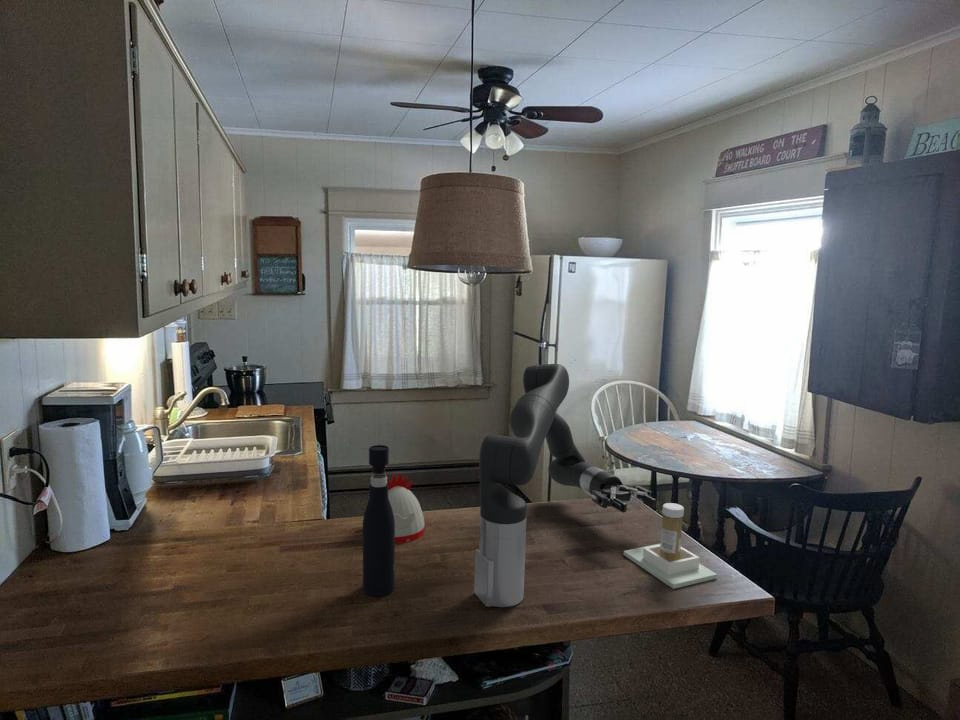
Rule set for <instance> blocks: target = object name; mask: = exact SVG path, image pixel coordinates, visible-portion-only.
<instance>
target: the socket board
mask: <svg viewBox="0 0 960 720" xmlns="http://www.w3.org/2000/svg"><path fill="white" fill-rule="evenodd" d="M660 544H661V543H656V544H651V545H646V546H641V547H637V548H632V549H628V550H623V556H625V557H626V558H627V559H629V560H630V561H632V562H633V563H635V564H636V565H638V566H639V567H641V568H642V569H643V570H645V571H646V572H647V573H650V574H651V576H654V578H655V577H656V578H657V579H658V580H659V581H662V583H664V584H665V585H667V586H668V587H670V588H671V589H672V590H674V589H679V588H684V587H687V586H690V585H691V586H692V585H696V584H699V583H704V582H709V581H712V580H716V579H718V573H716V572H714V571H712V570H711V569H709V568H707V567H706V566H704V565H703V564H701V563H700V559H701V558H700V556H698V555H696V554H695V553H692V552H691V551H690V550H687V549H686V548H684V547H682V546H681V550H680V560H676V561H672V562H669V561H667V560H665V559H664V558H662V557H661V556H660Z"/></svg>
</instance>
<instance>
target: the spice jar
mask: <svg viewBox="0 0 960 720" xmlns="http://www.w3.org/2000/svg"><path fill="white" fill-rule="evenodd" d="M661 510H662V512H661V513H662V518H661V519H662V522H661V531H660V533H661V534H660V543H659V544H660V556H661V557H662V558H664V559H665V560H667V561H669V562H672V561H676V560H680V550H681V547H682V530H683V517H684V513H685V507H684V506H683V505H681V504H679V503H673V502H666V503H664V504H663V505H662V509H661Z"/></svg>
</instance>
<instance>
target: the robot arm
mask: <svg viewBox="0 0 960 720" xmlns="http://www.w3.org/2000/svg"><path fill="white" fill-rule="evenodd" d="M522 377H523V378H522V384H523V390H524V394H523V395H521V397H520V398H519V399H518V400H517V401H516V403H515V404H514V407H513V408H512V410H511V412H510V415H509V426H510V430H511V431H512V433H513V434H514V436H506V435H499V434H498V435H497V434H489V435H486V436H485V437H484V438H483V440H482V442H481V445H480V449H479V457H478V458H479V460H478V464H479V465H478V467H479V468H478V470H479V504H480V506H479V507H480V509H479V511H480V514H479V515H480V516H479V544H478V545H479V548H476V549H475V551H474V552H475V555H474V587H473V588H474V590H473V591H474V594H475V596H476V597H477V598H478V599H479V600H480V602H482V604H483V605H484V606H485V607H488V608H490V607H496V608H509V607H514V606H516V605H518V604H520V603H521V602H522V601H523V599H524V589H525V566H526V565H525V564H526V562H525V561H526V542H527V538H526V537H527V516H528V515H527V514H528V513H527V511H528V504H527V503H526V501H525V500H524V499H523V498H522V497H521V496H518V495H516V494H515V493H513V492H511V491H510V490H508V489H507V488H506V487H504V485H510V486H511V485H514V486H525V485H527V484H529V483H530V482H531V480H532V479H533V477H534V474H535V473H536V469H537V465H538V462H539V457H540V455H541V451H542V447H543V444H544V441H545V440H546V443H547V447H548V450H549V453H550V455H551V456H552V457H554V459H553V460H552V461H551V462H549V465H548V467H547V470H548V474H549V476H550V478H551V479H552V480H553V481H554V482H556V483H557V484H559V485H561V486H562V485H563V486H565V487H566V486H568V487H574V488H579V489H580V490H582V491H584V492H585V493H586V494H587V495H588V496H590V497H591V501H592V502H593V503H595V504H596V505H598V506H599V507H601V508H603V509H608V507H609V508H610V509H616V510H617V511H619V512H620V513H622V514H623V513H627V509H628V508H627V507H628V504H627V503H632V504H637V503H640V504H643V505H645V506H648V507H649V508H650V509H654V508H655V509H656V506H657V505H656V504H657V503H656V502H657V500H656V498H653V497H652V491H651V490H649V489H647V488H644V487H643V486H640V485H638V484H633V487H630V486H627V485H624V484H623V482H622V480H621V479H620V478H619V477H618V476H616V475H614V474H612V473H610V472H608V471H606V470H604V469H602V468H599V467H596V466H595V465H593V464H590V463H588V462H586V460H585V458H584V456H583V455H582V454H581V452H580V451H579V450H578V448H577V446H576V445H575V442H574V439H573V435H572V431H571V428H570V426H569V424H568V422H567V421H566V420H565V419H564V417H562V416H561V415H560V414H558V413H557V411H558V409H559V407H560V406H561V404H562V402H563V401H564V400H565V398H566V397H567V395H568V391H569V387H570V376H569V372H568V370H567V369H566V367H565V366H563V365H562V364H559V363H547V364H535V365H529V366H528V367H526V368H525V369H524V372H523V376H522ZM632 495H633V497H632ZM632 498H633V499H632Z"/></svg>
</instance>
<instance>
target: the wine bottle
mask: <svg viewBox="0 0 960 720" xmlns="http://www.w3.org/2000/svg"><path fill="white" fill-rule="evenodd" d="M389 448H390V447H389V446H387V445H382V444H377V445H375V444H374V445H372V446H369V448H368V464H369V465H370V466H371V467H372V471H371V473H372V475H371V476H370V484H369V487H368V488H369V494H368V501H367V504H366V506H365V510H364V514H363V520H362V590H363V591H362V592H363V593H364V594H365V595H367V596H371V597H385V596H388V595H390V594H391V593H393V592H394V591H395V566H396V565H395V564H396V563H395V561H396V560H395V559H396V557H395V555H396V553H395V551H396V550H395V548H396V547H395V546H396V543H395V521H394V515H393V510H392V507H391V504H390V501H389V498H388V484H387V477H388V476H387V477H386V475H387V474H386V466H388V465H389V463H390V462H389V458H390V455H389V453H390V451H389Z"/></svg>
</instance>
